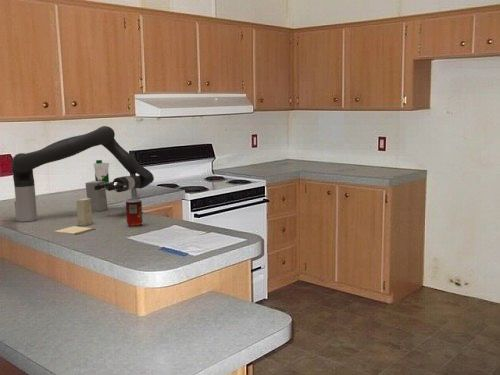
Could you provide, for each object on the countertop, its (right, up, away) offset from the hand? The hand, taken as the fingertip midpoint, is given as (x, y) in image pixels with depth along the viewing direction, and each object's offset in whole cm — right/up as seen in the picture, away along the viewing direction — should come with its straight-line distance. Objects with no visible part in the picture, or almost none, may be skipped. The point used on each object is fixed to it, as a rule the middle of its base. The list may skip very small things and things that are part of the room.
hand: (101, 188), depth 257 cm
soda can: (+19, -17, -13) cm, 29 cm away
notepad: (-6, -19, -21) cm, 29 cm away
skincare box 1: (-5, -17, -8) cm, 20 cm away
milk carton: (-31, -1, +114) cm, 118 cm away
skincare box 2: (-10, -12, +29) cm, 33 cm away
